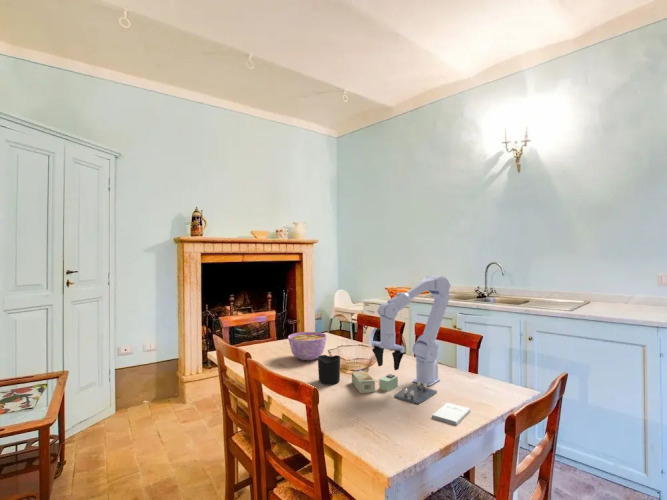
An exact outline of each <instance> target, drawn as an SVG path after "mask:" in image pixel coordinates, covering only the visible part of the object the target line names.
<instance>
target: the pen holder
mask: <svg viewBox="0 0 667 500" xmlns="http://www.w3.org/2000/svg"><path fill="white" fill-rule="evenodd" d="M317 366H318V367H317V368H318V369H317V370H318V382H319V383H320V384H322V385H328V386H329V385H330V386H331V385H332V386H333V385H336V384H338V383H339V382H340V379H341V378H340V377H341V357H340V355H331V356H330V355H326V354H321V356H319V357H317Z"/></svg>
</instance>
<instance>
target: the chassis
mask: <svg viewBox="0 0 667 500" xmlns="http://www.w3.org/2000/svg"><path fill="white" fill-rule="evenodd" d="M421 385H422V386H421ZM437 393H438V390H436V389H432V388H428V387H427V383H423V384H421V382H420V381H418V382H417V383H416V384H412V385H410V386H408V387H406V388H404V389H403V390H401V391H399V392H398V393H396V394H394V395H393V397H394V398H395V399H399V400H402V401H405V402H408V403H412V404H415V405H420V404H423V402H425V401H427V400H428V399H429V398H431V397H432V396H434V395H436V394H437Z"/></svg>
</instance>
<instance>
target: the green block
mask: <svg viewBox="0 0 667 500" xmlns="http://www.w3.org/2000/svg"><path fill="white" fill-rule="evenodd" d="M398 378H399V377H398V376H396V375H395V374H391V373H389V374H386V375H385V376H383V377H380V378H379V382H378V383H379V390H382V391H386V392H389V391H392V390H394V389H396V388H397V387H399V383H398V382H399V379H398Z"/></svg>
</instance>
